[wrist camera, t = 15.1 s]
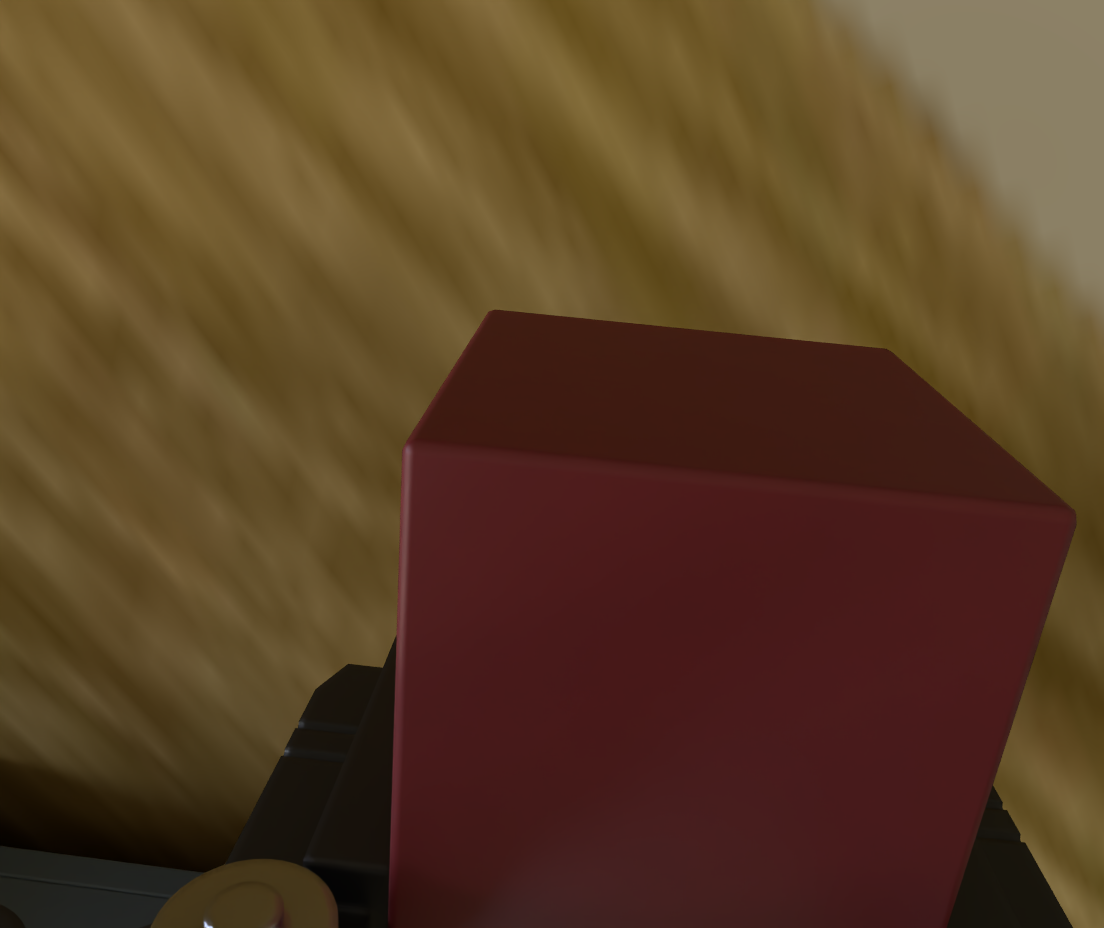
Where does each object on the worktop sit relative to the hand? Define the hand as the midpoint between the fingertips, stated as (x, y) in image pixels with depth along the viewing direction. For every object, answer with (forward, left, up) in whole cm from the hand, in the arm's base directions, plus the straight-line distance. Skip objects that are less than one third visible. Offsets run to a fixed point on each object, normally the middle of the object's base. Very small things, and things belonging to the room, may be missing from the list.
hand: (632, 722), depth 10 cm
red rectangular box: (0, 0, 0) cm, 0 cm away
